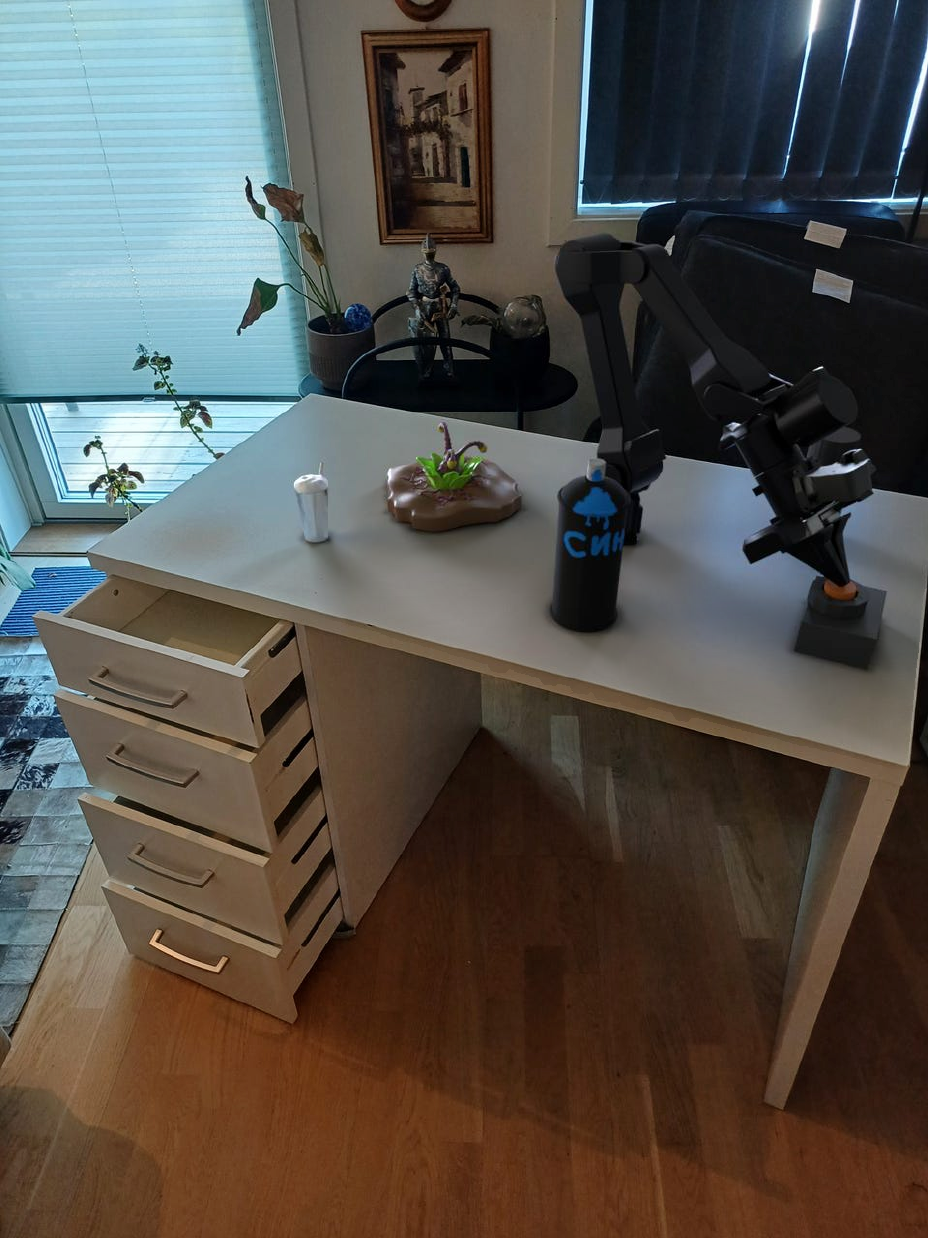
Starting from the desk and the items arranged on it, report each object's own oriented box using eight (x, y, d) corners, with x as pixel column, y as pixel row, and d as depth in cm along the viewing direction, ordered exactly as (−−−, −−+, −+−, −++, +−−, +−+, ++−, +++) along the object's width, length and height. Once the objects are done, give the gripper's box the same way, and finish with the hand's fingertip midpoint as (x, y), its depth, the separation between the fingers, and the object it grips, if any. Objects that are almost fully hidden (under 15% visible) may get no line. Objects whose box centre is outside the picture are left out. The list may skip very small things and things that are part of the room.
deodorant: (836, 546, 123) (864, 444, 115) (791, 542, 124) (815, 440, 116) (831, 526, 128) (857, 426, 119) (787, 522, 129) (810, 423, 120)
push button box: (867, 670, 100) (881, 626, 97) (792, 650, 103) (803, 607, 100) (877, 620, 108) (891, 577, 105) (807, 603, 111) (818, 561, 108)
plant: (491, 462, 145) (492, 395, 139) (536, 517, 130) (539, 444, 124) (370, 479, 140) (365, 410, 134) (402, 538, 125) (398, 463, 119)
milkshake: (342, 530, 127) (336, 465, 121) (321, 548, 123) (315, 481, 117) (314, 524, 128) (308, 459, 123) (293, 541, 124) (285, 474, 119)
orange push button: (850, 612, 102) (854, 596, 101) (819, 605, 103) (823, 589, 102) (854, 597, 104) (858, 581, 103) (823, 590, 106) (827, 575, 104)
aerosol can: (544, 596, 113) (553, 447, 101) (609, 593, 113) (625, 445, 102) (555, 634, 106) (566, 479, 95) (624, 631, 107) (643, 476, 95)
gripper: (788, 456, 91) (865, 592, 90) (877, 409, 101) (946, 531, 101) (710, 500, 100) (779, 624, 99) (799, 454, 110) (862, 565, 110)
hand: (845, 584), depth 102 cm, fingers closed, pressing on orange push button
